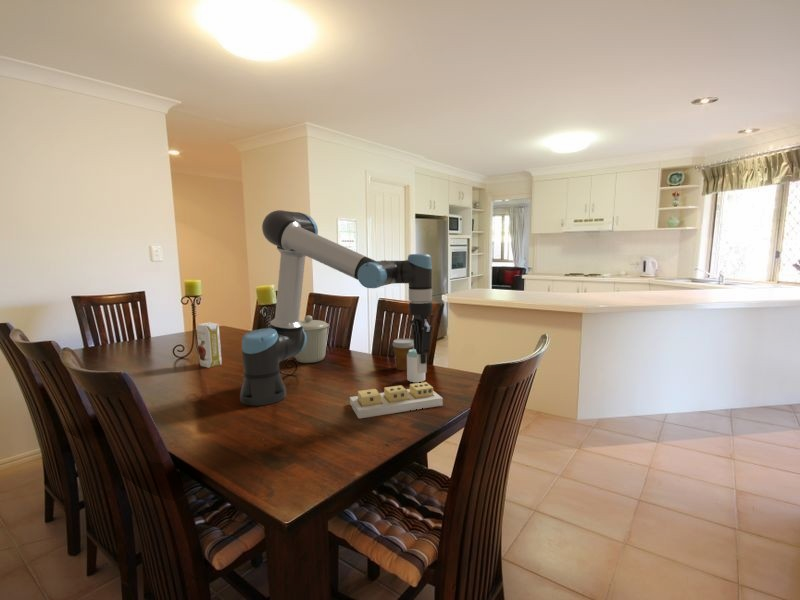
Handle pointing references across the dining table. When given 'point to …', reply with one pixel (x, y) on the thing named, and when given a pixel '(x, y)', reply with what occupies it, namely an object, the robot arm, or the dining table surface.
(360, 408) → the keypad base
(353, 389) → the dining table surface
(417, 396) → the three pip key
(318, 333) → the canister
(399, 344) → the disposable coffee cup
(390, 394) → the two pip key
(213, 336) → the juice carton
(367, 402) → the one pip key
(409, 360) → the can
